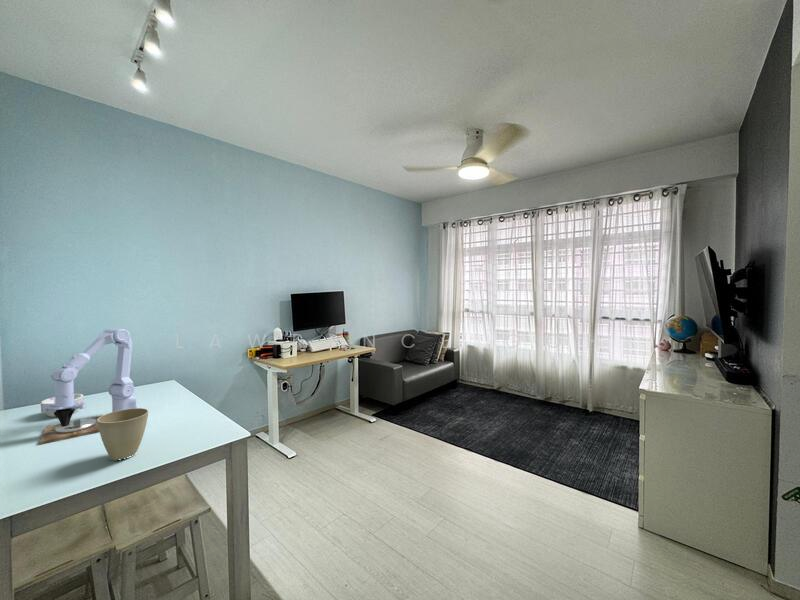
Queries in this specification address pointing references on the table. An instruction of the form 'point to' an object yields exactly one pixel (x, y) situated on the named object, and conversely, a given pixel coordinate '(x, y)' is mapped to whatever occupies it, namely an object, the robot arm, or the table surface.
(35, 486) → the table surface
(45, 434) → the plate
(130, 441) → the plant pot
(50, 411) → the paper bowls
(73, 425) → the dial
